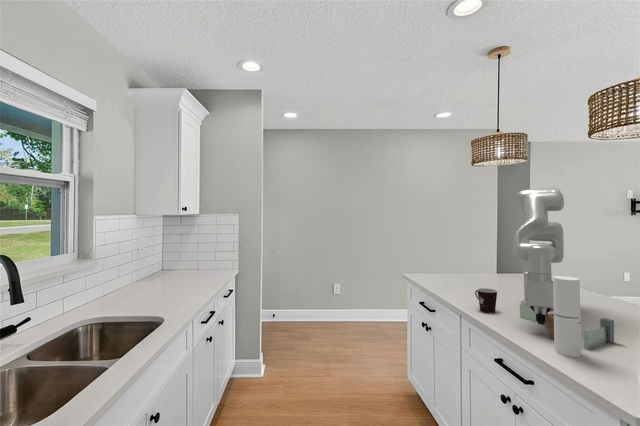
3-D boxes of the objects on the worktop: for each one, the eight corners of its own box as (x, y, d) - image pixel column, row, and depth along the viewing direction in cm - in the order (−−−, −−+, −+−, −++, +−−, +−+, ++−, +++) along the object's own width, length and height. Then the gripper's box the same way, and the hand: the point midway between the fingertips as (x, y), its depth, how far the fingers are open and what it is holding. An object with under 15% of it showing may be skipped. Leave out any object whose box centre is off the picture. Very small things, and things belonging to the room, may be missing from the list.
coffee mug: (500, 314, 151) (499, 292, 151) (480, 313, 152) (480, 292, 152) (492, 307, 162) (491, 287, 162) (473, 306, 164) (473, 286, 164)
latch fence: (604, 339, 119) (604, 318, 119) (614, 342, 116) (613, 320, 116) (581, 347, 112) (581, 324, 112) (591, 350, 110) (590, 326, 110)
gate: (541, 323, 135) (540, 302, 136) (547, 324, 135) (546, 302, 135) (550, 337, 120) (549, 314, 120) (556, 338, 119) (556, 314, 119)
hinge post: (522, 316, 146) (522, 299, 146) (548, 324, 136) (548, 305, 136) (518, 317, 145) (518, 299, 145) (544, 325, 135) (544, 305, 135)
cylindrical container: (549, 348, 112) (547, 276, 112) (568, 347, 113) (566, 275, 113) (566, 357, 105) (565, 280, 105) (587, 356, 106) (585, 279, 106)
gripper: (516, 276, 128) (517, 322, 128) (563, 280, 119) (564, 330, 119) (518, 273, 134) (519, 317, 134) (563, 277, 125) (564, 324, 125)
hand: (540, 323), depth 126 cm, fingers closed
